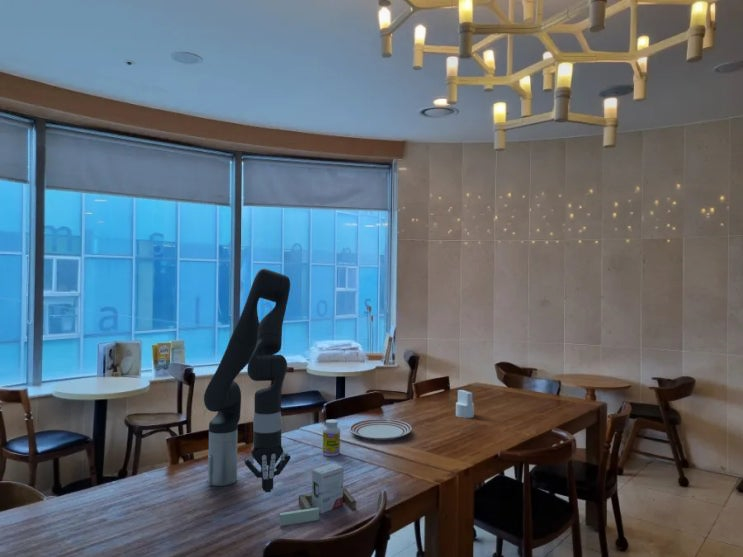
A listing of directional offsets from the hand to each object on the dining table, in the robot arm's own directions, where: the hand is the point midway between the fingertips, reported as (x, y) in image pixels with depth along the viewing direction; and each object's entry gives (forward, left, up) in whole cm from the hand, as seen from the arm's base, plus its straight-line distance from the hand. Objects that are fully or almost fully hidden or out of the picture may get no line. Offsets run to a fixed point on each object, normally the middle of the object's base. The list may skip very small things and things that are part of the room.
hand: (267, 491), depth 141 cm
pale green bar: (+9, 0, -10) cm, 13 cm away
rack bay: (+19, +8, -10) cm, 23 cm away
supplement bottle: (+33, +51, -10) cm, 62 cm away
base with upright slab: (+113, +84, -10) cm, 142 cm away
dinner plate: (+61, +69, -10) cm, 93 cm away
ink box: (+19, +6, -10) cm, 22 cm away
